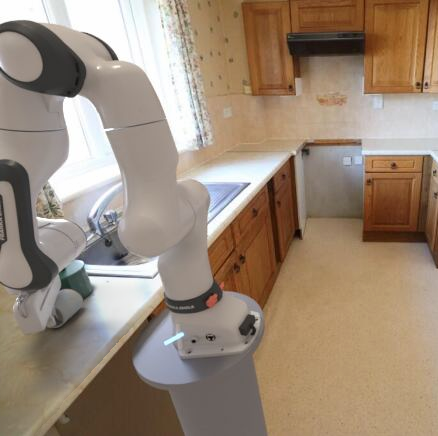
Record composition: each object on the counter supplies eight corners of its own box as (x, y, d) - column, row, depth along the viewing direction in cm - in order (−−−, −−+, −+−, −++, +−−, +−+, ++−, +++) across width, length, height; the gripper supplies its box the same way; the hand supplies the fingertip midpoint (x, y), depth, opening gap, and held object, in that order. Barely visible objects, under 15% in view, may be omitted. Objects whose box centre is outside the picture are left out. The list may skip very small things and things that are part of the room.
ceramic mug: (89, 307, 91) (79, 284, 88) (68, 327, 84) (56, 304, 81) (52, 309, 91) (41, 286, 88) (28, 329, 84) (15, 306, 81)
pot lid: (94, 263, 98) (89, 251, 96) (63, 285, 88) (57, 272, 86) (62, 262, 99) (56, 250, 97) (28, 283, 89) (21, 271, 88)
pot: (100, 285, 101) (91, 262, 97) (73, 307, 92) (62, 282, 88) (71, 284, 102) (61, 261, 98) (42, 305, 93) (29, 281, 89)
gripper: (34, 297, 68) (60, 346, 73) (55, 254, 84) (74, 296, 90) (-5, 308, 65) (25, 357, 71) (24, 261, 81) (46, 304, 87)
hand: (53, 323), depth 80 cm, fingers closed
